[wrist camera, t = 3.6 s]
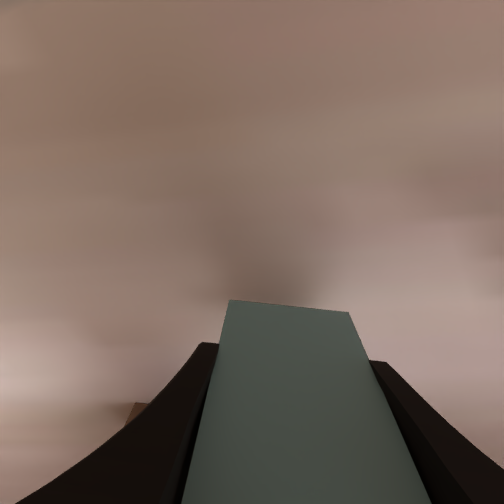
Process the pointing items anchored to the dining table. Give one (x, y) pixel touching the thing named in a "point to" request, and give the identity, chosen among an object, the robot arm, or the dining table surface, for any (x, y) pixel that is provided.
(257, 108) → the dining table surface
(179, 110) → the dining table surface
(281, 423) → the domino
